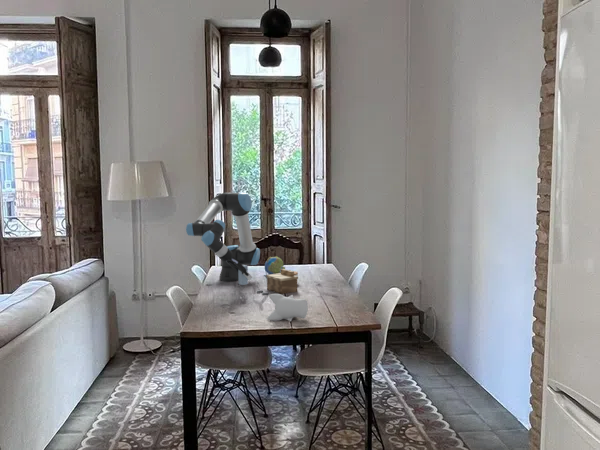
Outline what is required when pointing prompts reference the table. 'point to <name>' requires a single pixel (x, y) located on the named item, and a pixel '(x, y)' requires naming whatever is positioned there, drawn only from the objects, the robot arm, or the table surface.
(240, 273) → the blue-grey block
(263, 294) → the pair of grey bars
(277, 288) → the toolbox
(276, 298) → the fox head
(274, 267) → the globe
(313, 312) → the table surface
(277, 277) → the lid
